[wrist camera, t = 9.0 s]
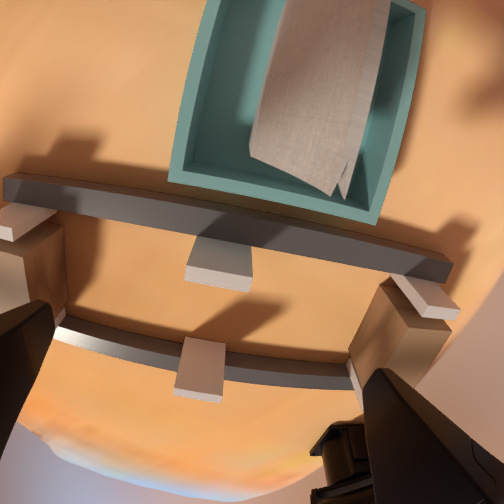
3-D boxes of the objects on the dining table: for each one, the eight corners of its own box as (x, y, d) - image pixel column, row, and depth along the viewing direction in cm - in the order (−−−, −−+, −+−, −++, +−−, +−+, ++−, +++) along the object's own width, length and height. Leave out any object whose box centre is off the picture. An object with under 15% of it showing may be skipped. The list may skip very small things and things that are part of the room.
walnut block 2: (388, 350, 23) (409, 393, 18) (347, 347, 22) (365, 395, 18) (420, 291, 20) (452, 331, 16) (378, 284, 20) (408, 327, 16)
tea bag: (248, 143, 15) (253, 179, 6) (275, 28, 13) (315, -72, 4) (314, 158, 16) (401, 216, 7) (341, 46, 13) (448, -13, 4)
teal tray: (353, 205, 18) (375, 225, 14) (182, 168, 16) (167, 181, 13) (397, 23, 13) (426, 10, 9) (228, -26, 11) (225, -53, 8)
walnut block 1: (69, 298, 20) (38, 338, 16) (30, 286, 20) (-3, 322, 15) (64, 225, 18) (23, 257, 13) (22, 216, 17) (-20, 244, 13)
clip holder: (376, 378, 24) (394, 420, 20) (32, 317, 21) (4, 353, 16) (443, 254, 19) (481, 289, 15) (15, 172, 16) (-32, 192, 11)
